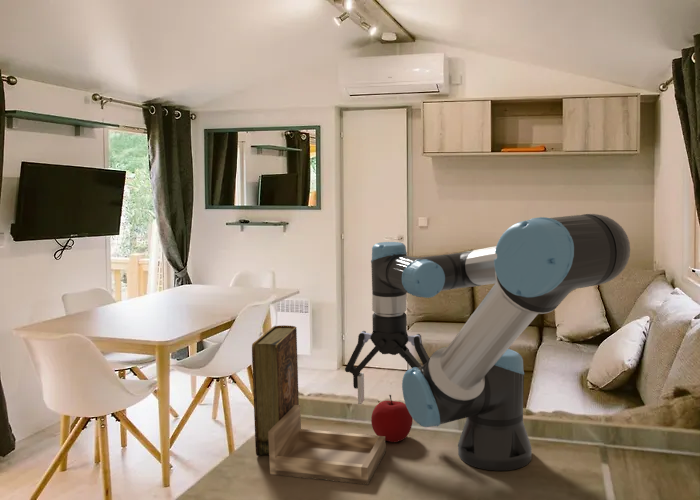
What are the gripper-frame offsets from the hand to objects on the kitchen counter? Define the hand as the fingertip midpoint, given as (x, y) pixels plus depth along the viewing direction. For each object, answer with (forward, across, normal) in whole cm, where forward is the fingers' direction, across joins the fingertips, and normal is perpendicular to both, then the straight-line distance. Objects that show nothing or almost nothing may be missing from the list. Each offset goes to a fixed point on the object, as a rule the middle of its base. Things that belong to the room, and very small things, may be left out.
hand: (390, 404), depth 157 cm
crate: (+8, +10, +15) cm, 20 cm away
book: (+8, +24, +8) cm, 26 cm away
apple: (+8, 0, 0) cm, 8 cm away
